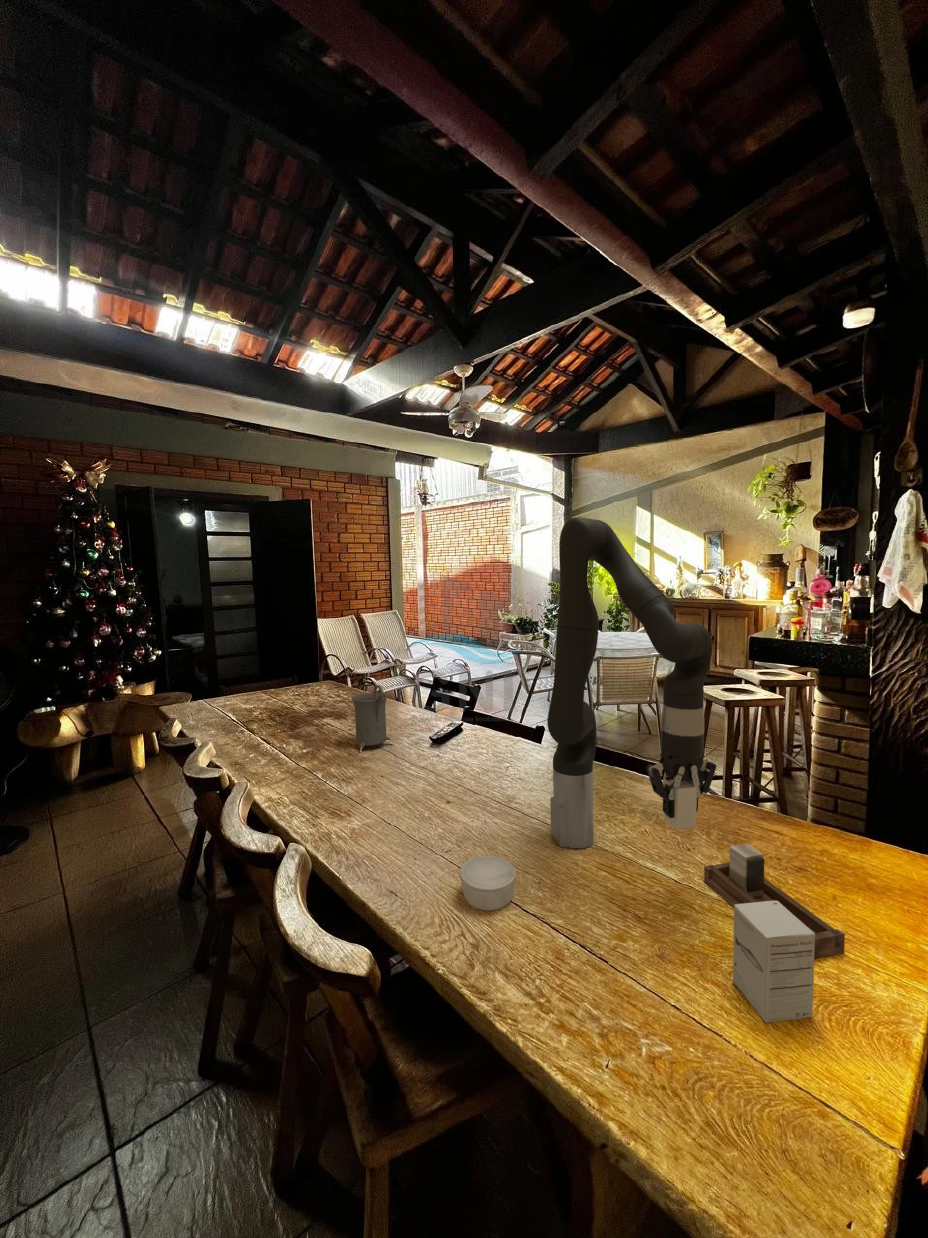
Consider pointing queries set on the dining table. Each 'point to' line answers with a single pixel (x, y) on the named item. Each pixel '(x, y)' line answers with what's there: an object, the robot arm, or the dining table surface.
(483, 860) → the ramekin
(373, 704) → the grey footed pot
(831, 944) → the rail
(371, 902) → the dining table surface
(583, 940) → the dining table surface
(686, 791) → the grey upright block
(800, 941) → the supplement box
